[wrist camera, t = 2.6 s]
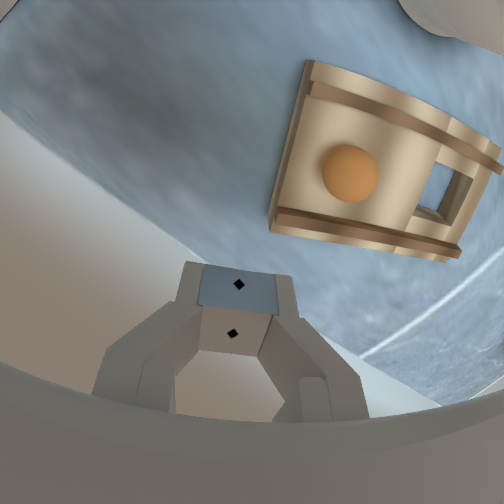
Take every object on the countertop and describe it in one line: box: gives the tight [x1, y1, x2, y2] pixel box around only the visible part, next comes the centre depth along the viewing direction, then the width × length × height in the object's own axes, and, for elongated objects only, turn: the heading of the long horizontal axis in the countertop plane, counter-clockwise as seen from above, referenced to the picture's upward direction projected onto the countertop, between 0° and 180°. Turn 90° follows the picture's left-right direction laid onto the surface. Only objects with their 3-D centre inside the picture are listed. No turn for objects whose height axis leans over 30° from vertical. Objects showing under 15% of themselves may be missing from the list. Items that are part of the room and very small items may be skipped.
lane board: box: [267, 60, 504, 263], centre depth 22 cm, size 20×14×4 cm
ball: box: [322, 146, 378, 203], centre depth 19 cm, size 4×4×4 cm
